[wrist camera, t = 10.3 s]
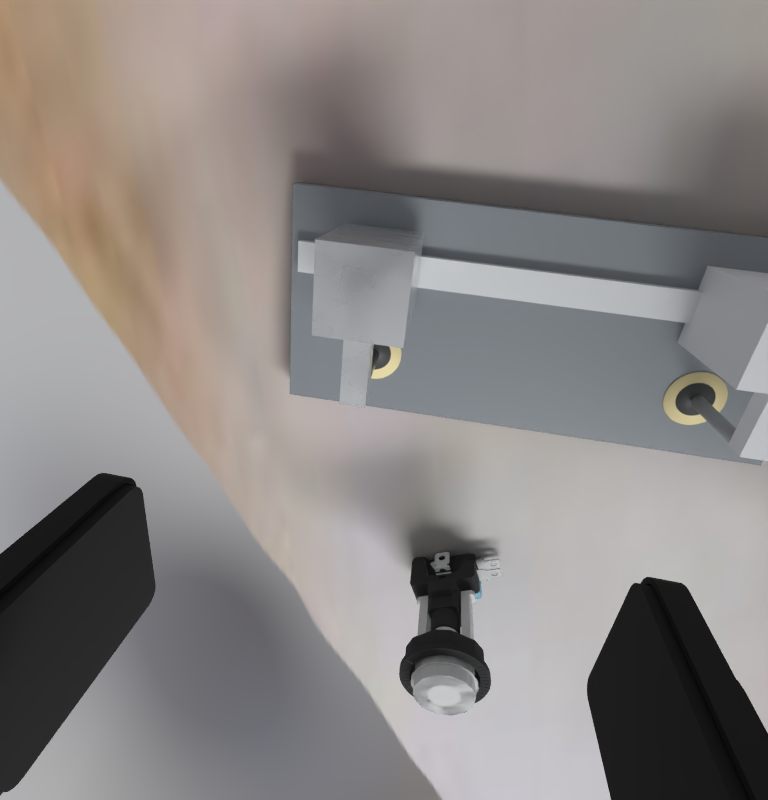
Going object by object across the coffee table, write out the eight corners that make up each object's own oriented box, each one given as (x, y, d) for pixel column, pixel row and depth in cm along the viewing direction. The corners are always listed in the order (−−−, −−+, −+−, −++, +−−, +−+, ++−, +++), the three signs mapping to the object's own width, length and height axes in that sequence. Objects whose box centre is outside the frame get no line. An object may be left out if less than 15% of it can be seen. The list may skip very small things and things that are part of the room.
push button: (491, 530, 34) (504, 658, 25) (507, 584, 36) (524, 720, 27) (402, 544, 36) (385, 669, 27) (423, 595, 38) (412, 727, 29)
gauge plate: (852, 247, 24) (1007, 279, 17) (746, 451, 29) (832, 536, 22) (301, 182, 26) (247, 188, 19) (296, 384, 31) (253, 443, 25)
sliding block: (424, 231, 24) (415, 251, 19) (407, 365, 28) (394, 416, 22) (347, 222, 25) (314, 239, 19) (338, 356, 28) (309, 404, 22)
